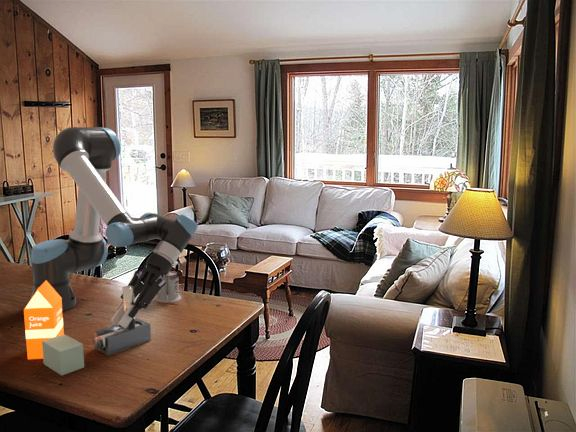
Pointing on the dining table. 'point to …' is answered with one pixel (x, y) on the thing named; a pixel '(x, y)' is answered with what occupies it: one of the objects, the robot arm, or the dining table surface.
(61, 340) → the grey-green block
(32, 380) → the dining table surface
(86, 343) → the dining table surface
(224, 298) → the dining table surface
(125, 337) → the gray open box
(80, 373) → the dining table surface
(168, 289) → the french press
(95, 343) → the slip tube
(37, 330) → the orange juice
